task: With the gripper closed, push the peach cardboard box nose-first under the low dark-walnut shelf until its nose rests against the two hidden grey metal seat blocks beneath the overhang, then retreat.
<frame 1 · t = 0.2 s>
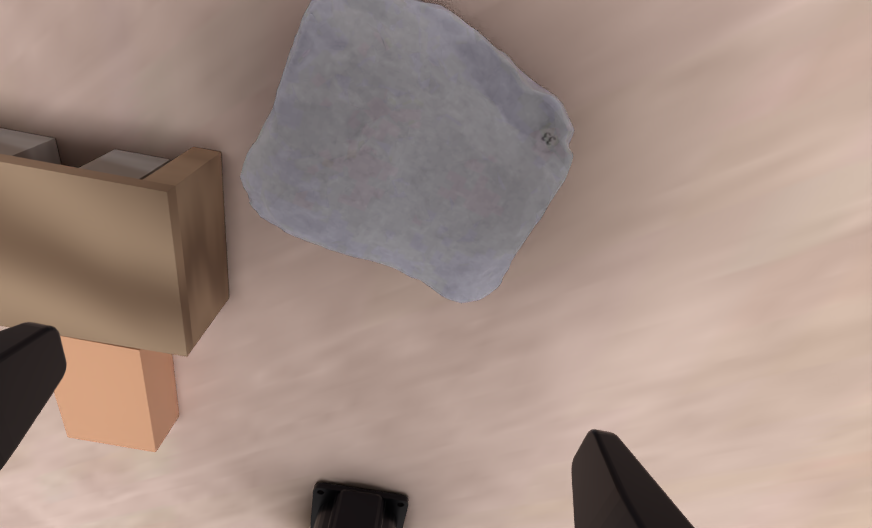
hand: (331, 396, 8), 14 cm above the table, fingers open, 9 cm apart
shelf: (98, 208, 23), on the table
peach cardboard box: (133, 358, 28), on the table
stone block: (419, 133, 21), on the table
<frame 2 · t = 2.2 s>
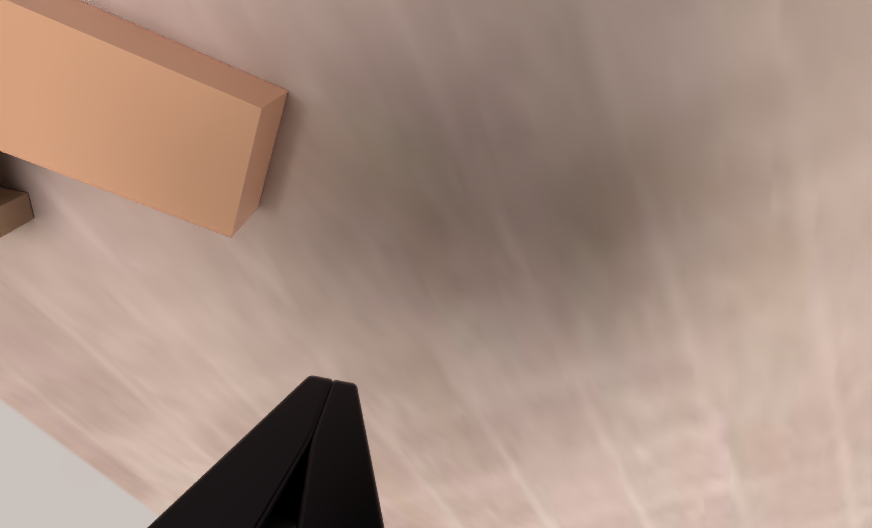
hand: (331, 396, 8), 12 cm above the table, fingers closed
peach cardboard box: (171, 107, 18), on the table
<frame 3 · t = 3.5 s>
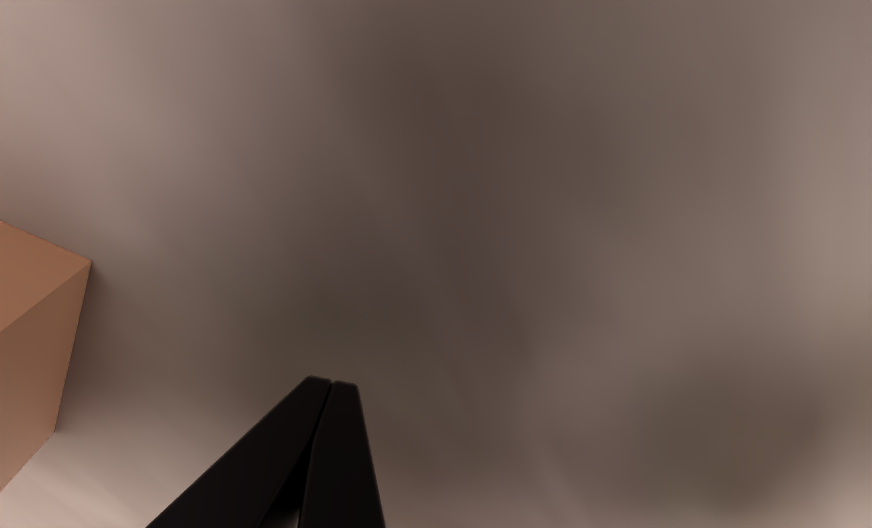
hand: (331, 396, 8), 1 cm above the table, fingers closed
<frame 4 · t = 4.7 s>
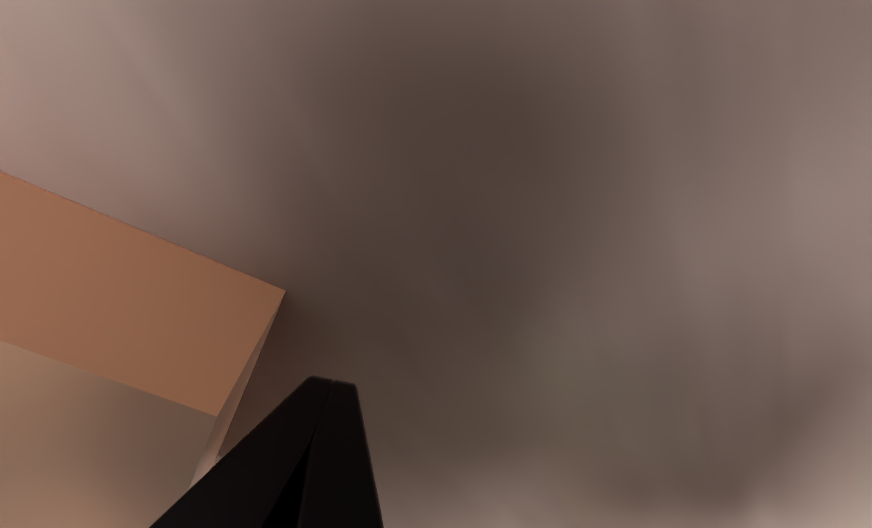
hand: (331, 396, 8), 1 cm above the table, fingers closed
peach cardboard box: (41, 295, 9), on the table
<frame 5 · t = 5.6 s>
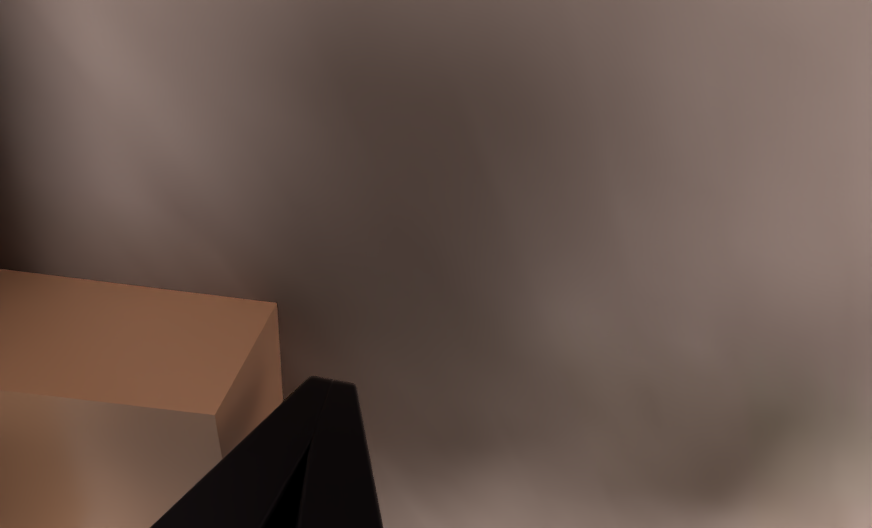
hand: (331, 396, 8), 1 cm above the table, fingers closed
peach cardboard box: (98, 362, 10), on the table, touching gripper
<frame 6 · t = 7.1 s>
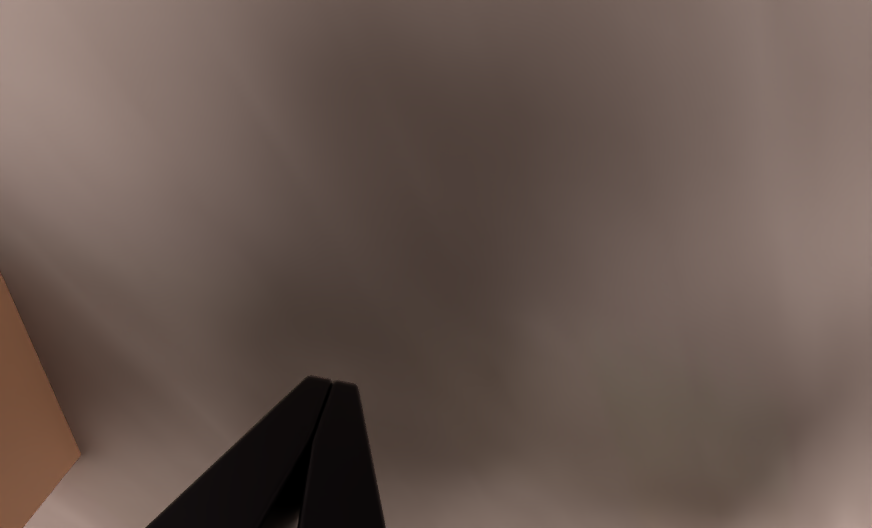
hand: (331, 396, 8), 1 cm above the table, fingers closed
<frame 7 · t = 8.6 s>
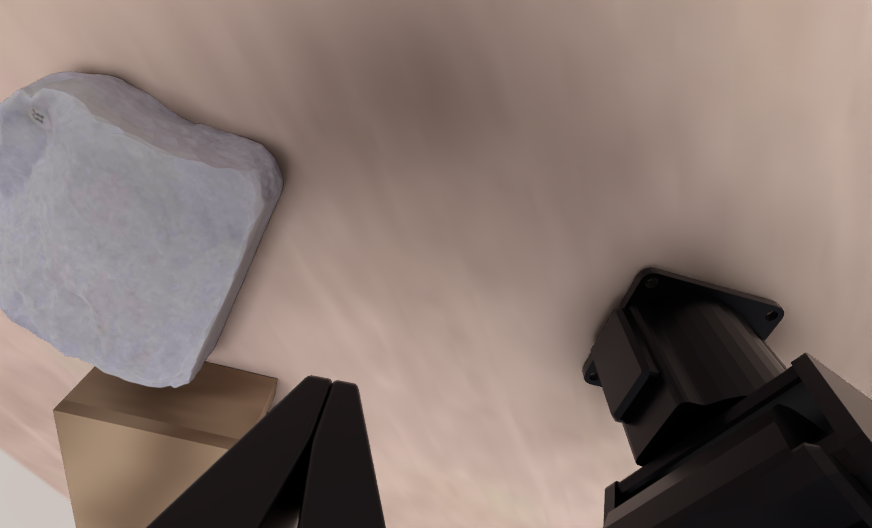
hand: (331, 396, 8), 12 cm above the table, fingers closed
shelf: (197, 436, 28), on the table
stone block: (149, 216, 21), on the table
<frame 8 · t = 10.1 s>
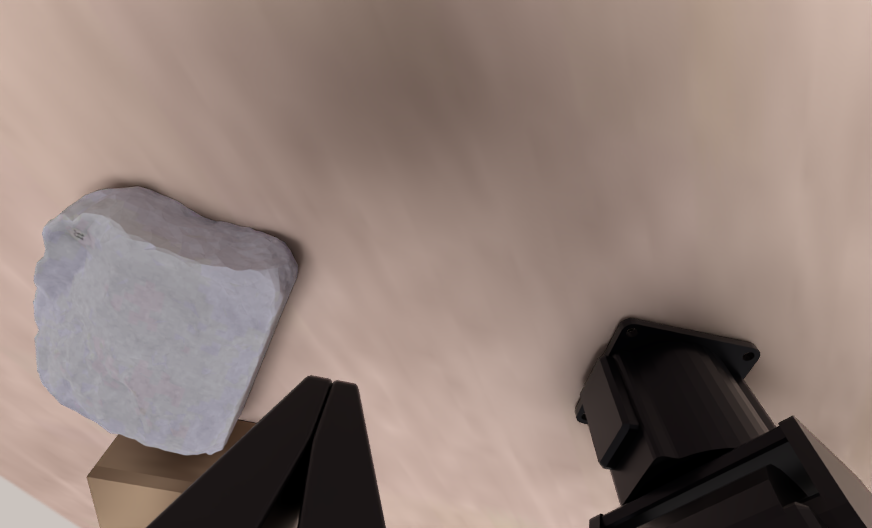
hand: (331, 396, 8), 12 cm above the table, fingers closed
shelf: (219, 482, 29), on the table
stone block: (177, 298, 23), on the table
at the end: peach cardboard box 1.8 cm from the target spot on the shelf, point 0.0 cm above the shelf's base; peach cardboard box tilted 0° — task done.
